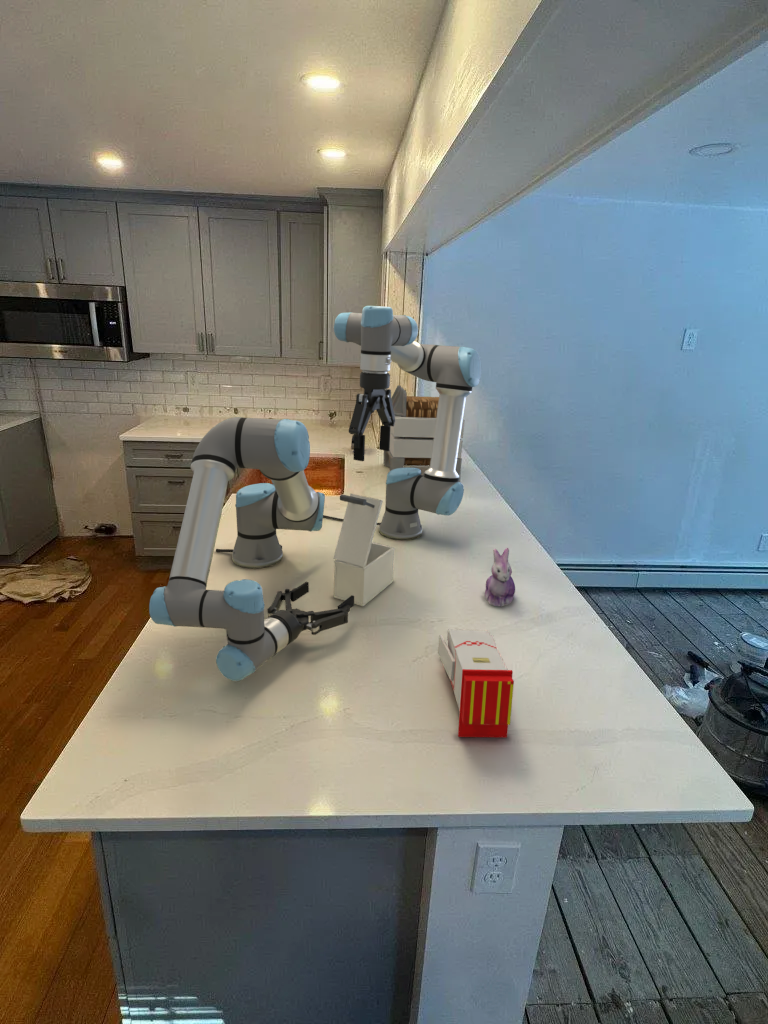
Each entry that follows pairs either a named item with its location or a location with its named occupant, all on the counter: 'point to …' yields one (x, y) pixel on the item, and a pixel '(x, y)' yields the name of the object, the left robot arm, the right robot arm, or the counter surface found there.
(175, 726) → the counter surface
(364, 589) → the chest
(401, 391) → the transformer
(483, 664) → the toy
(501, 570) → the figurine
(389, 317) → the right robot arm
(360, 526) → the lid
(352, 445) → the figurine character
